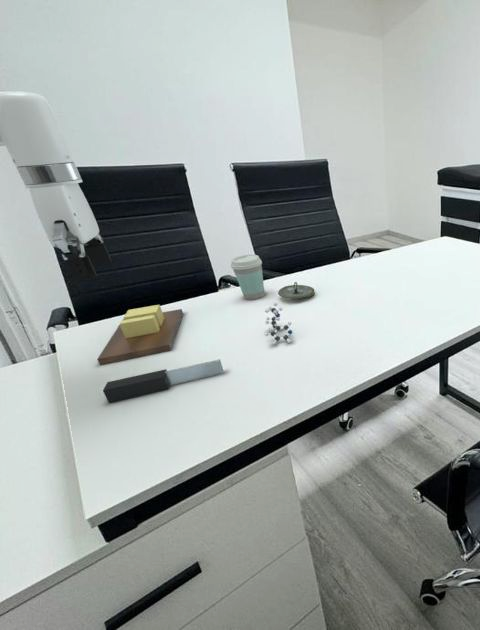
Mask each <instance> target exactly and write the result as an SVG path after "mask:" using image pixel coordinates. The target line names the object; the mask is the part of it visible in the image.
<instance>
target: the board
mask: <svg viewBox="0 0 480 630" xmlns="http://www.w3.org/2000/svg"><path fill="white" fill-rule="evenodd" d="M162 313H163V315H164V321H163V323H162V325H161V326H159V328H160V330H159V332H157V333H152V334H146V335H141V336H136V337H131V338H125V336H124V334H123V331H122V329H121V327H120V324H119V325H118V326H117V328H116V330H115V331H114V332H113V334H112V336H111V338H110V339H109V341H108V342H107V343H106V345H105V346H104V348H103V349H102V351H101V353H100V354H99V356H98V357H97V360H96V361H97V362H98V364H99V365H100V366H102V365H105V364H111V363H117V362H121V361H125V360H129V359H135V358H140V357H144V356H149V355H154V354H159V353H164V352H168V351H172V349H173V345H174V343H175V340H176V337H177V335H178V331H179V328H180V325H181V322H182V320H183V319H182V318H183V316H184V311H183V309H182V308H178V309H174V310H168V311H162ZM122 320H124V318H123V319H122Z"/></svg>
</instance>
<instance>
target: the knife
mask: <svg viewBox="0 0 480 630" xmlns="http://www.w3.org/2000/svg"><path fill="white" fill-rule="evenodd" d="M223 367H224V366H223V364H222V361H221V359H214V360H211V361H206V362H202V363H201V362H200V363H196V364H193V365H187V366H184V367H179V368H175V369H170V370H167V369H166V368H165V369H160V370H155V371H152V372H146V373H142V374H138V375H132V376H129V377H124V378H120V379H115V380H110V381H107V382H106V383H105V386H104V387H103V390H102V392H103V394H104V396H105V398H106V400H107V402H108V404H112V403H115V402H121V401H125V400H129V399H133V398H137V397H142V396H146V395H150V394H154V393H158V392H162V391H167V390H169V389H170V386H175V385H179V384H182V383H183V384H184V383H187V382H191V381H196V380H199V379H204V378H208V377H213V376H217V375H222V374H225V370H224V368H223Z"/></svg>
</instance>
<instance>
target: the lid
mask: <svg viewBox="0 0 480 630" xmlns="http://www.w3.org/2000/svg"><path fill="white" fill-rule="evenodd" d="M277 294H278V296H279V297H282V298H284V299H288V300H302V299H307V298H310V297H313V296H314V295H315V289H314V287H312V286H310V285H304V284H298V282H297V281H294V283H293V284H291V285H287V286H283V287H281V288H280V289H278V291H277Z"/></svg>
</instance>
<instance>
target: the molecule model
mask: <svg viewBox="0 0 480 630" xmlns="http://www.w3.org/2000/svg"><path fill="white" fill-rule="evenodd" d="M277 306H278V303H277V302H274V303H273V307H272V306H269V307H268V308H266V309H264V312H265V313H269V312H271V313H273V315H274V316H272V317H269V316H267V317H266V318H265V319H266V321H265V322H264V323H265V325H269V324H271V326H272V327H271V328H269V329H268V332H264V336H265V337H268V336H269V335H270V336H271V337H274V341H273V340H272V342H271V345H273V346H275V345H276V344H277V343H276V342H279V341H280V340H284V341H287V343H288V344H291V343H292V340H291V339H289V336H290V335H293V330H292V329H290V326H291V325H292V321H288V322H287V324H285V325H283V326H280V325H278V324H277V322H279V321H281V318H280V317H281V313H280V312H279V311H281V312H282V311H283V309H284V308H283V307H281V306H280V307H278V309H277V308H276V307H277ZM270 320H271V321H270ZM283 330H285V331H287V334H285V335H283V336H279V335H277V331H283Z"/></svg>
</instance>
